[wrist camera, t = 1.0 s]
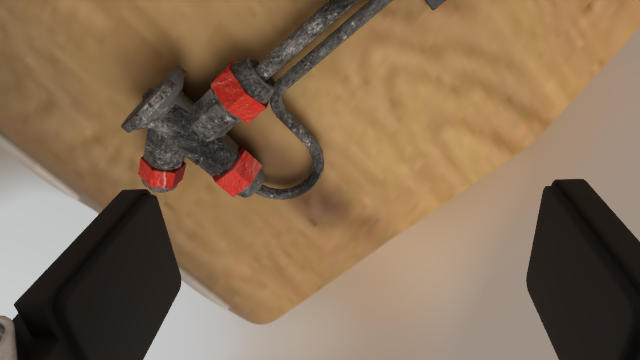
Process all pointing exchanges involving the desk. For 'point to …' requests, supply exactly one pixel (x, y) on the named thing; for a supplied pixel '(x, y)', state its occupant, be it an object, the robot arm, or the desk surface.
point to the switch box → (434, 3)
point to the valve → (236, 112)
